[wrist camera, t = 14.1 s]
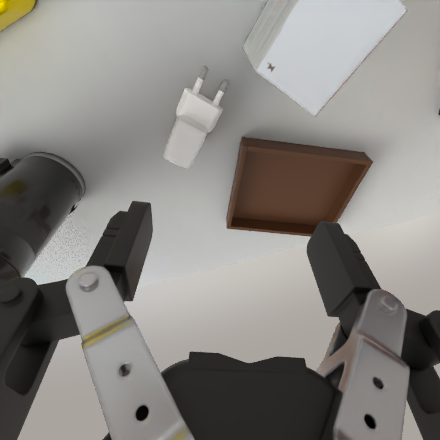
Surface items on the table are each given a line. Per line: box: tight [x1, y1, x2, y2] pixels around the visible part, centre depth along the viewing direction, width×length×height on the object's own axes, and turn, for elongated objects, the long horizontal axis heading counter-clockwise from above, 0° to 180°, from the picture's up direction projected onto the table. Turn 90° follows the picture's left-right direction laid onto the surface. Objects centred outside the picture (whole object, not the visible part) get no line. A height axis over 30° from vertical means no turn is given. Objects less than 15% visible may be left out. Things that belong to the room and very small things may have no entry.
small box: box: [243, 0, 407, 116], centre depth 21 cm, size 8×6×13 cm
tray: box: [226, 137, 373, 236], centre depth 39 cm, size 18×15×3 cm
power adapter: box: [163, 66, 229, 168], centre depth 30 cm, size 11×5×6 cm, turn 151°
